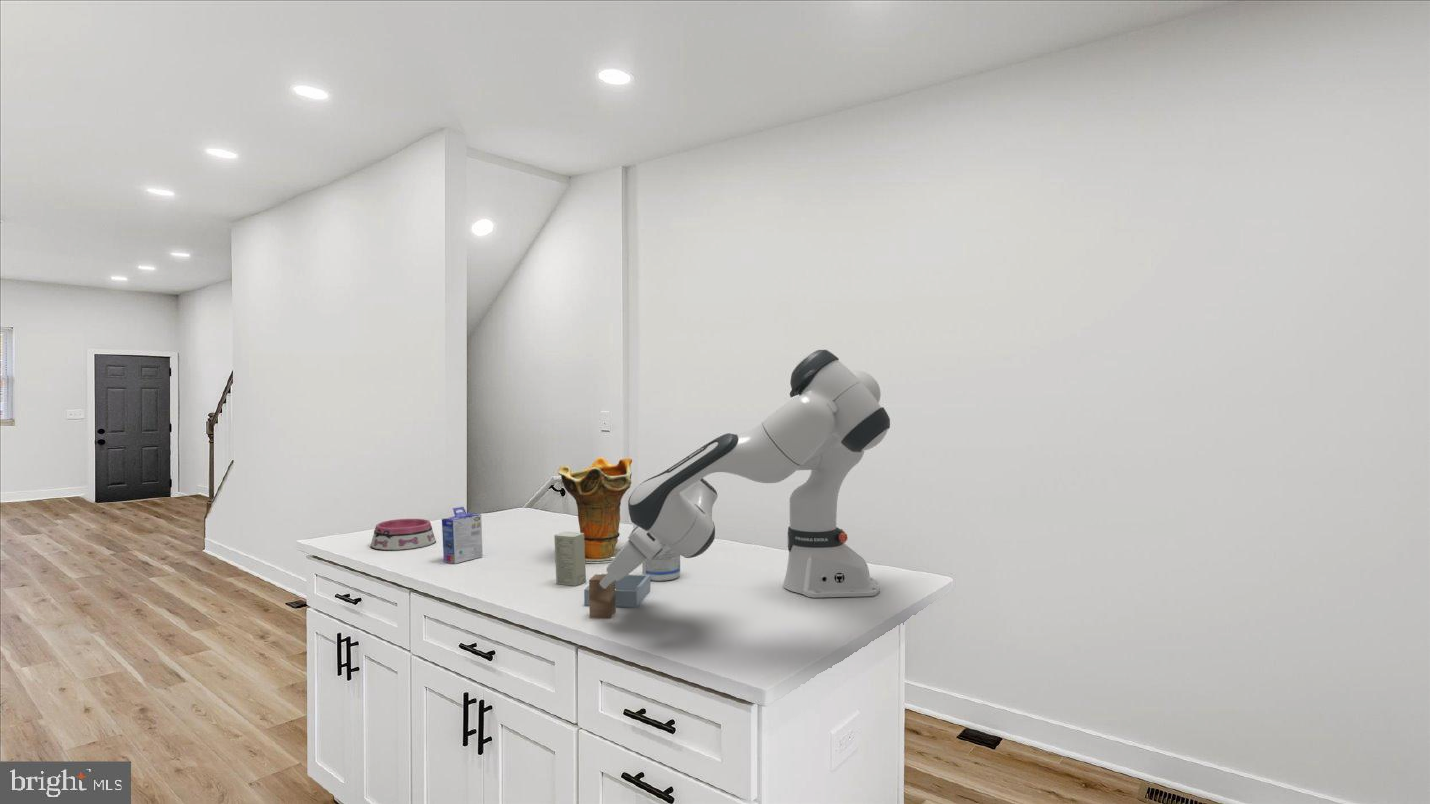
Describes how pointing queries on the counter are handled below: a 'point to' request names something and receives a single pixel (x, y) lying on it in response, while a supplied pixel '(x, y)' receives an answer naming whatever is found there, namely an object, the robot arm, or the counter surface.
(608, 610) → the walnut block
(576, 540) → the skincare box
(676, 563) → the supplement tub
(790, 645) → the counter surface
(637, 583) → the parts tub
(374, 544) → the dog bowl
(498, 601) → the counter surface
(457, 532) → the ink cartridge box
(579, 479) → the decorative vase
